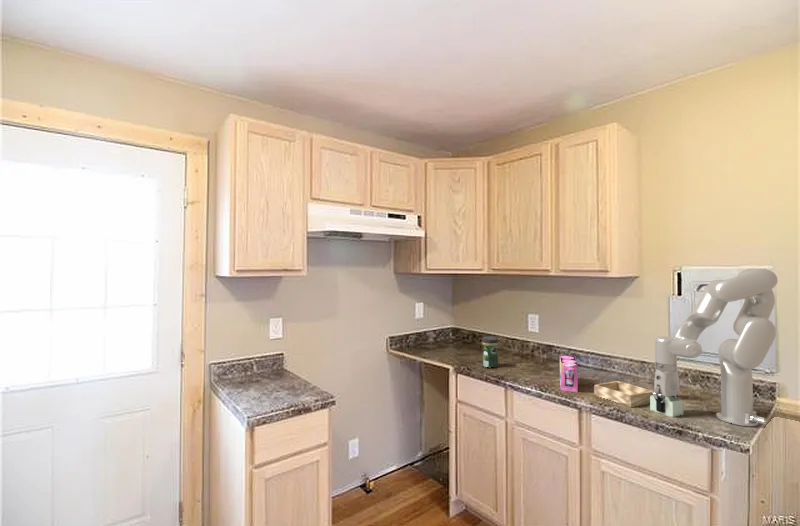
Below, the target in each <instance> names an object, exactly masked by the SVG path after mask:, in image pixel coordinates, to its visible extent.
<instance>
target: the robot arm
mask: <svg viewBox="0 0 800 526" xmlns="http://www.w3.org/2000/svg"><path fill="white" fill-rule="evenodd" d="M778 281H779V280H778V277H777V275H776V273H775V272H774V271H772V270H770V269H767V268H747V269H743V270H742V271H740V272H739V273H738V275H737V276H733V277H731V278H728V279H715V280H712V281H710V282H709V283H708V284H707V286H706V287H705V288H704V290H703V292H702V294H701V295H700V298H699V300H698V301H697V303H696V304H695V307H694V309H693V311H691V313H690V314H689V316H687V318H686V319H685V320H684V321H683V323H682V324H681V326H680V327H679V328H678V331H677V332H676V334H675V336H674V337H669V336H657V337H655V339H654V368H655V369H654V370H655V372H654V381H653V382H654V383H653V384H654V385H653V391H654V392H653V396H654V398H655V401H656V410H657V411H659V412H662V413H665V403H664V400H665V397H674V398H678V396H679V395H680V392H681V389H680V388H681V387H680V378H679V373H678V357H683V358H688V359H694V358H698V357H700V356H701V354H702V352H703V348H702V346H701V344H700V342H698V341H697V340H698V339H699V337H700V335H701V334H702V333H703V332H704V331H705V330H706V329H707V328H709V327H711V326H713V325H715V324H716V323H717V322H718V321H719V320H720V317H721V315H722V314H723V312H724V310H725V309H726V307H727V305H728V303H731V302H733V303H734V302H736V301H740V300H744V301H743V304H742V306H741V309H740V310H739V312H738V314H737V316H736V319H735V320H734V322H733V325H732V328H733V331H734V332H735V334H736V335H737V336H738V338H729V339H725V340H723V341H722V342H721V343H720V345H719V346H718V349H717V350H718V351H717V353H718V360H719V366H720V368H719V369H720V411H719V412H716V414H715V417H716V418H717V419H719V420H720V421H722V422H725V423H728V424H731V423H732V425H735V426H743V427H757V426H759V424H761V425H766V424H767V419H766V418H765V417H762V416H758V415H757V411H755V410H754V398H753V397H754V394H753V391H754V389H753V387H754V386H753V385H754V384H753V383H754V382H753V381H754V380H753V371H752V370H753V369H756V368H757V367H759V366H760V365H762V363H763V362H764V360H765V358H766V357H767V354H768V352H769V351H770V348H771V347H772V346H773V343H774V341H775V338H776V335H777V329H776V326H775V324H774V323H773V322H772V321H771V320H770V316H771V314H772V312H773V309H774V307H775V305H776V298H775V294H774V291H773V289H774V288H775V287H776V286H777V285H778ZM661 394H662V395H661ZM659 396H661V397H662V399H661V398H660V397H659Z"/></svg>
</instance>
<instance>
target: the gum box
mask: <svg viewBox="0 0 800 526" xmlns="http://www.w3.org/2000/svg"><path fill="white" fill-rule="evenodd" d="M578 371H579V370H578V361H577V359H576V355H573V354H559V383H560V384H559V386H560V391H563V392H570V393H571V392H572V393H579V391H578V390H579V389H578V388H579V387H578V386H579V382H578V379H579V378H578V377H579V376H578Z"/></svg>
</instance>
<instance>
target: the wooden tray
mask: <svg viewBox="0 0 800 526" xmlns="http://www.w3.org/2000/svg"><path fill="white" fill-rule="evenodd" d="M653 392H654V390H652V389H648V388H644V387H640V386H637V385H634V384H630V383H627V382H622V381H619V380H615V381H609V382H608V381H607V382H603V383H597V384H594V386H593V395H596V396H595V397H597V396H599V397H598V398H600V397H602V398H601V399H603V398H605V399H604V400H606V399H608V400H607V401H609V400H611V401H610V402H612V401H614V402H613V403H615V402H616V404H618V403H619V404H618V405H621V404H622V405H623V406H624V405H625V407H628V408H635V406H636V407H639V405H640V406H645V405H650V404H649V403H650V396H652V395H653ZM644 404H645V405H644Z"/></svg>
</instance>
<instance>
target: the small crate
mask: <svg viewBox="0 0 800 526" xmlns="http://www.w3.org/2000/svg"><path fill="white" fill-rule="evenodd" d="M661 395H662V394H661ZM659 397H660V398H661V399H662V397H661V396H659ZM664 403H665V413H662V412H659V411H657V410H656V401H655V398H654V396H653V395H652V396H650V404H649V408H650V409H649V410H650V411H651V412H655V413H658V414H660V415H664V416H666V417H669V418H676V416H677V417H680V415H681V416H683V415H684V400H683V399H681V398H678V397H677V398H674V397H665V400H664Z"/></svg>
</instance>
